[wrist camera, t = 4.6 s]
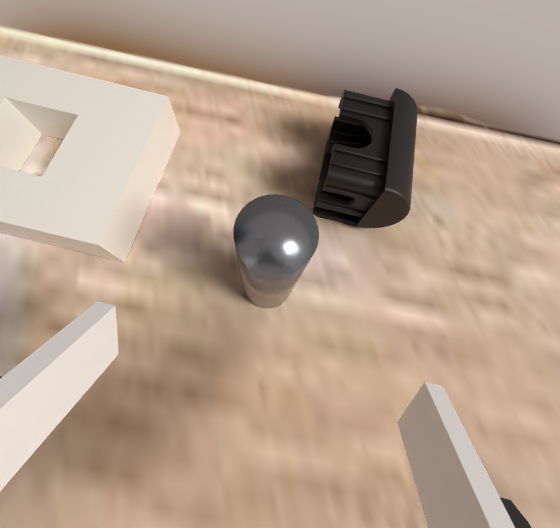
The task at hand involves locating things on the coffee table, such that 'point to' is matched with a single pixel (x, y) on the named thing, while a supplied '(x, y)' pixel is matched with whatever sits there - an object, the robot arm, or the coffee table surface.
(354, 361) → the coffee table surface
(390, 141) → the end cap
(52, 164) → the socket block
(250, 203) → the pin
